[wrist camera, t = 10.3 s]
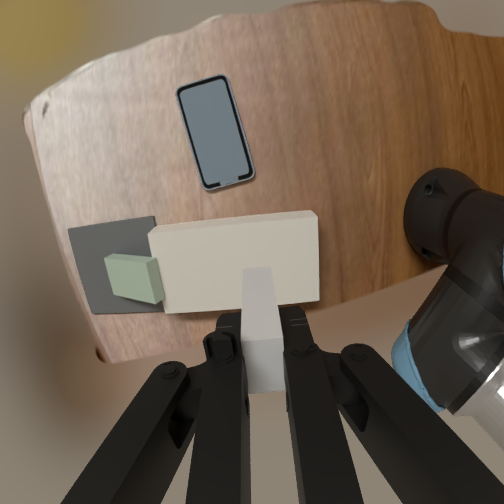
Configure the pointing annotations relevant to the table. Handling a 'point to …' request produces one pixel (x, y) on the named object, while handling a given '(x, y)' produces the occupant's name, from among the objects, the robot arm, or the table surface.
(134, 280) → the tile
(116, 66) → the table surface
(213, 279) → the board
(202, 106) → the smartphone
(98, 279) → the mat
